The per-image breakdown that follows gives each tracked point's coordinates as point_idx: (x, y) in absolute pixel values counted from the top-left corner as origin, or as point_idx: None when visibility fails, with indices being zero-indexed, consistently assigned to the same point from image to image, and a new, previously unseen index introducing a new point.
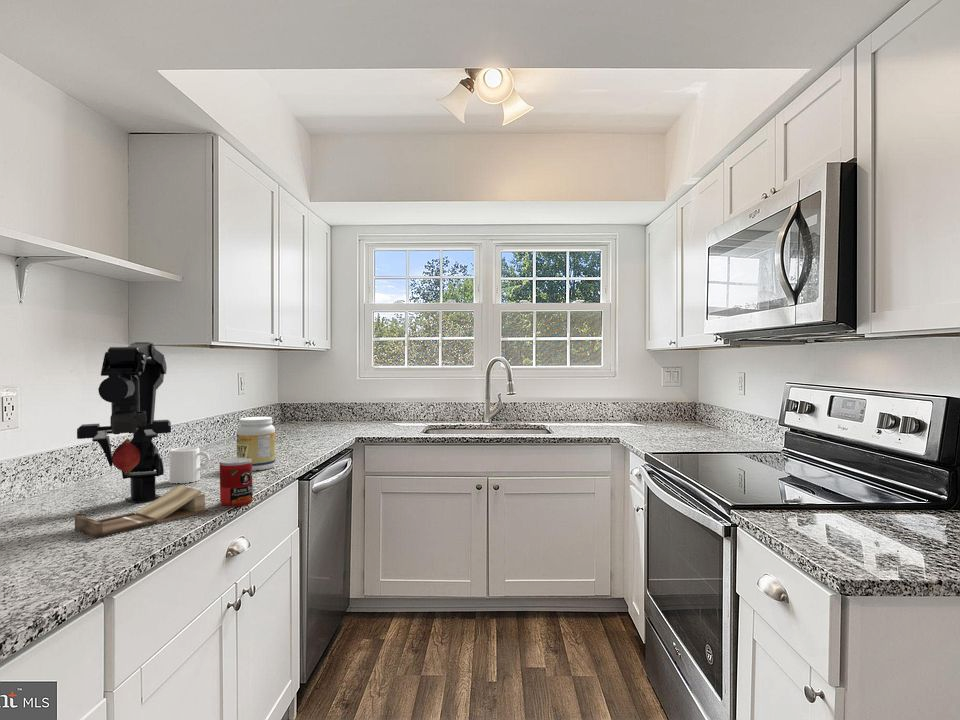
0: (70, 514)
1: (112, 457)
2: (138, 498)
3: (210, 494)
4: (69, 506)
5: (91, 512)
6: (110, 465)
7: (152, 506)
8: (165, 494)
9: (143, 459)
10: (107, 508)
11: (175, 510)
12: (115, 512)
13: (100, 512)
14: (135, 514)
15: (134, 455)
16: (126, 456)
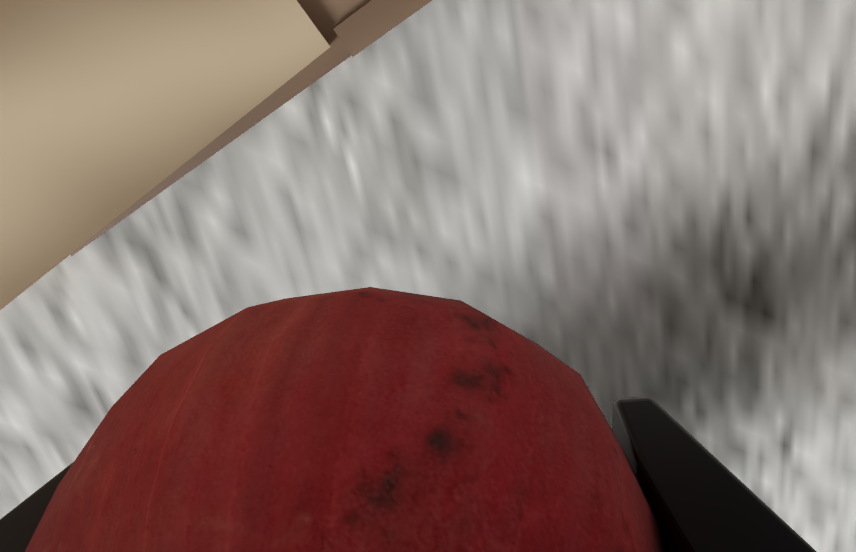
0: (817, 330)
1: (649, 543)
2: None
3: (2, 473)
4: (809, 514)
5: (686, 327)
6: (646, 406)
7: (166, 30)
8: (77, 210)
9: (38, 490)
10: (591, 388)
11: None
12: (525, 260)
13: (627, 303)
14: (333, 31)
15: (73, 484)
16: (255, 422)
